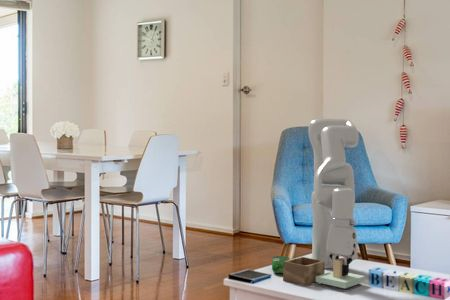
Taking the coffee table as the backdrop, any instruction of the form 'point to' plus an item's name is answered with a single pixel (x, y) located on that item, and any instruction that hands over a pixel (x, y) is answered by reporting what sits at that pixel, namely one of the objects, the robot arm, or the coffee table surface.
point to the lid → (340, 276)
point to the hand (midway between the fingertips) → (340, 274)
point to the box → (303, 270)
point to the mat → (340, 287)
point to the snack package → (278, 263)
